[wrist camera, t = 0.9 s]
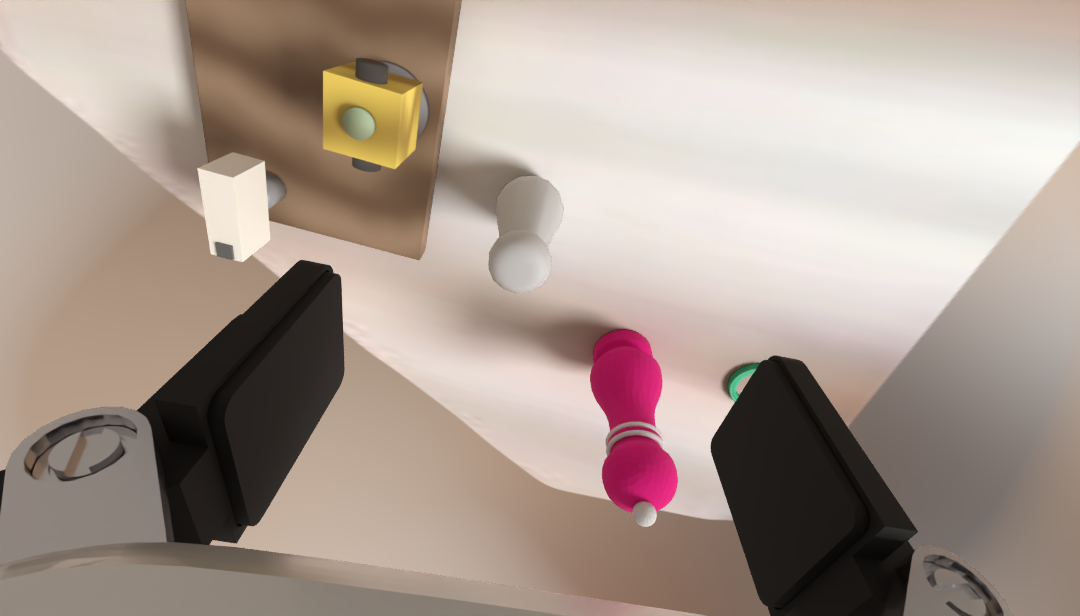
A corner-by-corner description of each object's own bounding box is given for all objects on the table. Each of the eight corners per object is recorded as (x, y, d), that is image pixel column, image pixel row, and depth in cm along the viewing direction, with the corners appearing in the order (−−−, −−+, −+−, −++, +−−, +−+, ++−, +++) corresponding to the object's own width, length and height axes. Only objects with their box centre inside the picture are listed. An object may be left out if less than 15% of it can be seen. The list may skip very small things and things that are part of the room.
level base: (180, -190, 28) (49, -254, 21) (474, -88, 30) (444, -114, 23) (228, 197, 43) (159, 237, 36) (424, 250, 45) (397, 298, 37)
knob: (252, 142, 37) (193, 168, 32) (284, 151, 38) (232, 179, 32) (259, 218, 41) (207, 254, 35) (288, 226, 41) (242, 263, 36)
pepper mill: (577, 361, 51) (579, 533, 35) (610, 315, 48) (630, 484, 31) (632, 384, 53) (659, 559, 36) (668, 341, 49) (717, 515, 33)
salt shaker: (486, 197, 41) (456, 267, 30) (531, 153, 39) (516, 213, 28) (531, 241, 43) (518, 321, 33) (577, 202, 41) (579, 274, 30)
